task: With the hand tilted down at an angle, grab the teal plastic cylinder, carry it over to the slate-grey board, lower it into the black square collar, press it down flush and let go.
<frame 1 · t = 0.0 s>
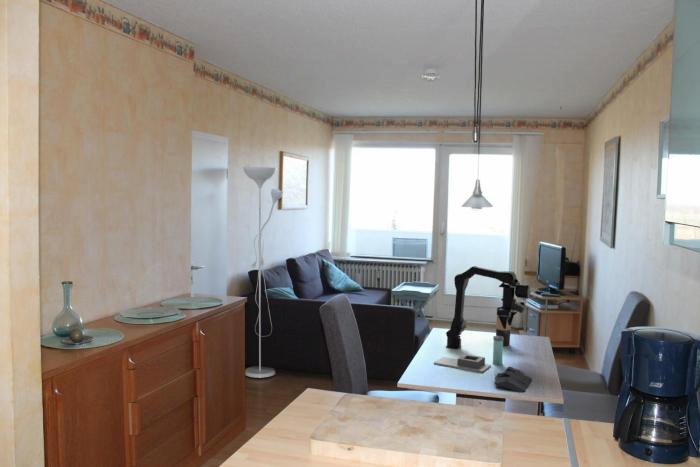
hand: (507, 327, 294), 15 cm above the table, tool pointing down, fingers open, 9 cm apart
dark slate chunk: (511, 384, 251), on the table
holder board: (462, 365, 276), on the table
travel mug: (502, 344, 319), on the table
teal cylinder: (497, 363, 281), on the table
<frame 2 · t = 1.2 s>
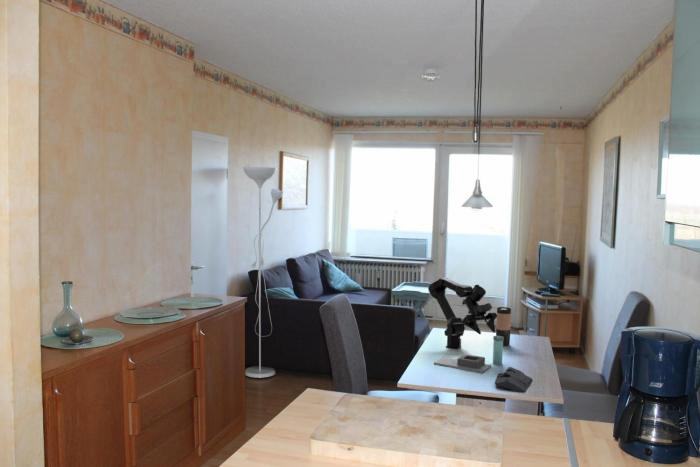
hand: (487, 333, 286), 13 cm above the table, tool tilted 45°, fingers open, 9 cm apart
nothing on the table moved.
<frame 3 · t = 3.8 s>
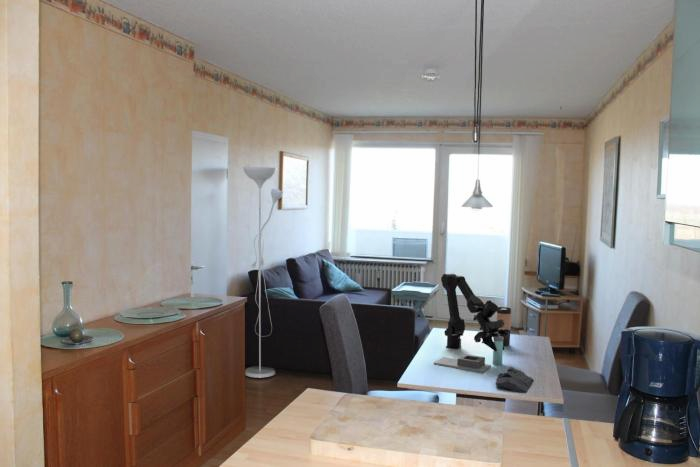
hand: (500, 350, 279), 7 cm above the table, tool tilted 45°, fingers closed on teal cylinder, 4 cm apart
teal cylinder: (497, 363, 281), on the table, touching gripper
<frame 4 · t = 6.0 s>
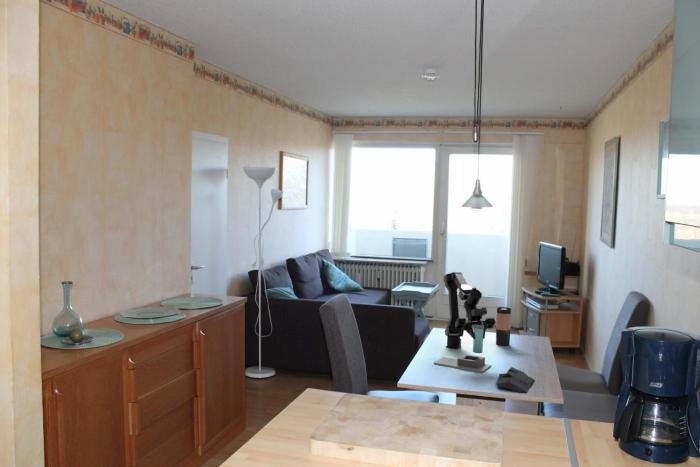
hand: (479, 338, 273), 14 cm above the table, tool tilted 45°, fingers closed on teal cylinder, 4 cm apart
teal cylinder: (477, 352, 275), point 7 cm above the table, touching gripper
when the fingers open (8 cm above the table, at t = 8.2 s): teal cylinder stays where it is, resting on holder board.
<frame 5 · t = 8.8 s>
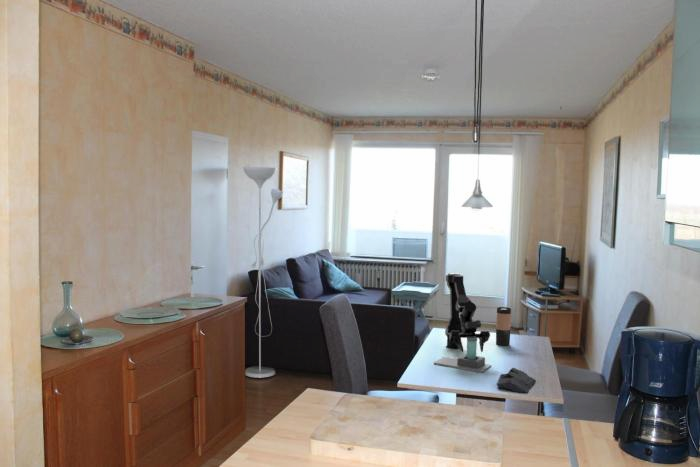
hand: (472, 351, 273), 7 cm above the table, tool tilted 45°, fingers open, 9 cm apart
teal cylinder: (471, 364, 275), point 1 cm above the table, touching holder board
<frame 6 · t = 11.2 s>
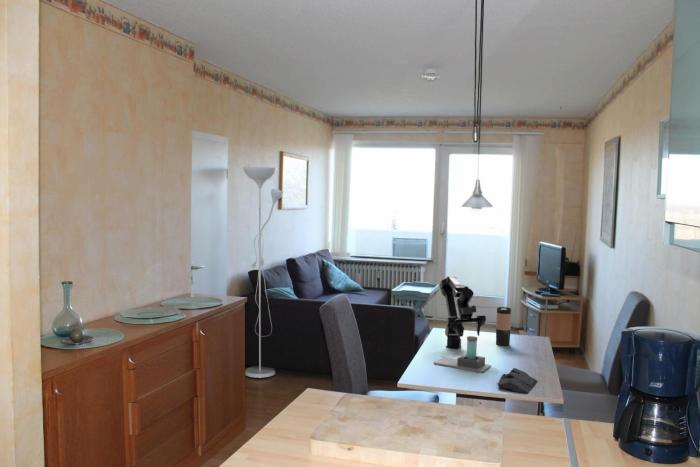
hand: (469, 336, 283), 12 cm above the table, tool tilted 40°, fingers open, 9 cm apart
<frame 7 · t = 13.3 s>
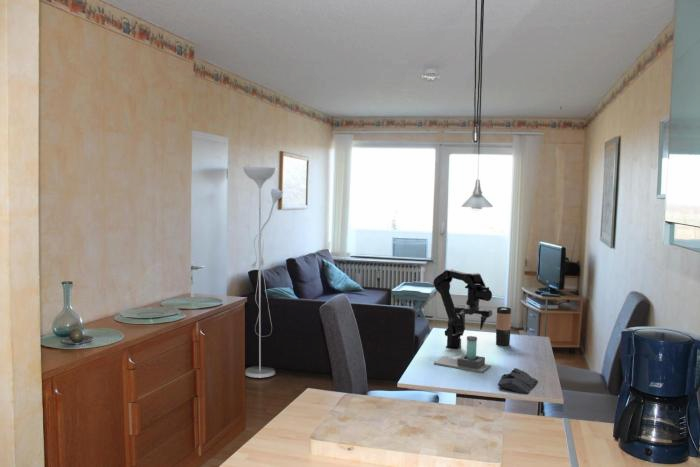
hand: (472, 328, 298), 13 cm above the table, tool pointing down, fingers open, 9 cm apart
at the end: teal cylinder 0.1 cm from the target spot on the holder board, point 0.8 cm above the holder board's base; teal cylinder tilted 1°; the gripper is holding nothing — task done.
